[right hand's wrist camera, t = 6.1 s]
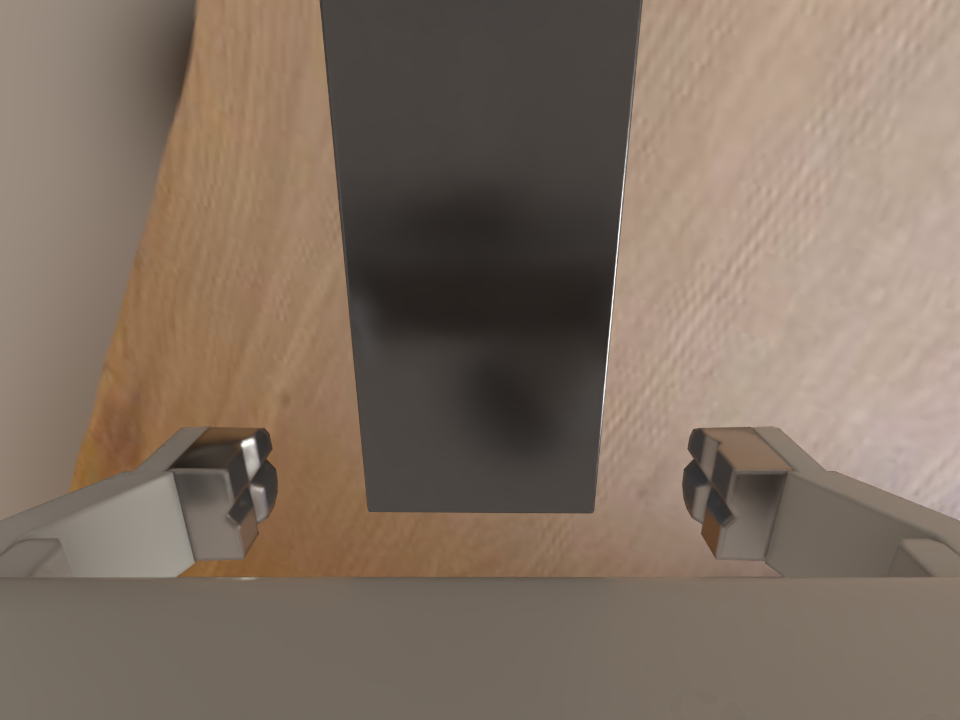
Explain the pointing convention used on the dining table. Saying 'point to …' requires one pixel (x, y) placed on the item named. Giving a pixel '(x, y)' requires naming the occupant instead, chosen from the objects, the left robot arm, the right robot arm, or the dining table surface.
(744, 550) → the right robot arm
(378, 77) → the box
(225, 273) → the dining table surface
